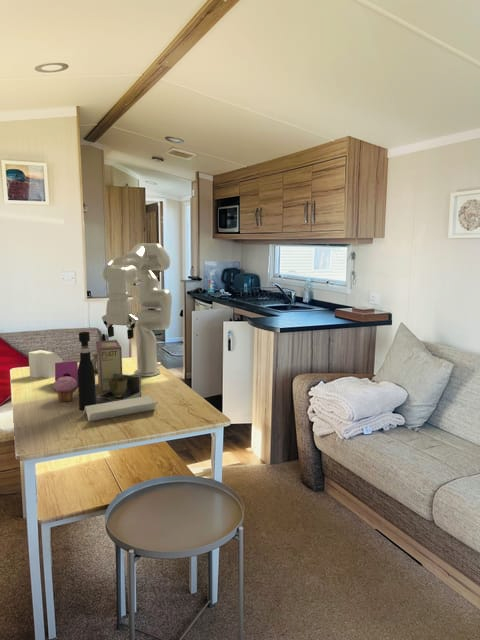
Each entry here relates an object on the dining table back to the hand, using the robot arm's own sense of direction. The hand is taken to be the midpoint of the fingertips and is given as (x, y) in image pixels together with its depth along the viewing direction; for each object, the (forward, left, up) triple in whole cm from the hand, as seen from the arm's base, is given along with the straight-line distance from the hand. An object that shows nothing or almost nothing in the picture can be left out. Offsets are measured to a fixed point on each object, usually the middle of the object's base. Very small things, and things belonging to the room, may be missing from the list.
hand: (120, 337), depth 202 cm
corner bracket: (-12, -53, -25) cm, 60 cm away
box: (-6, -11, -25) cm, 28 cm away
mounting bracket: (-1, -30, -25) cm, 39 cm away
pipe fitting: (-29, -35, -25) cm, 52 cm away
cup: (+7, +3, -24) cm, 25 cm away
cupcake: (+15, -17, -25) cm, 34 cm away
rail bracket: (+7, +3, -25) cm, 26 cm away
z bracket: (+20, +13, -25) cm, 35 cm away
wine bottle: (+20, -2, -25) cm, 32 cm away
